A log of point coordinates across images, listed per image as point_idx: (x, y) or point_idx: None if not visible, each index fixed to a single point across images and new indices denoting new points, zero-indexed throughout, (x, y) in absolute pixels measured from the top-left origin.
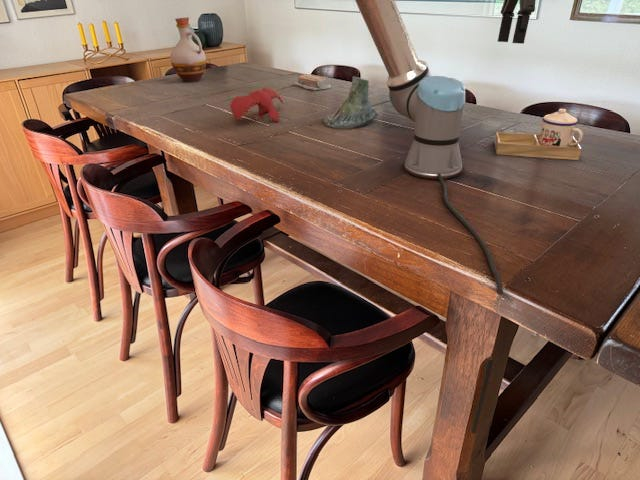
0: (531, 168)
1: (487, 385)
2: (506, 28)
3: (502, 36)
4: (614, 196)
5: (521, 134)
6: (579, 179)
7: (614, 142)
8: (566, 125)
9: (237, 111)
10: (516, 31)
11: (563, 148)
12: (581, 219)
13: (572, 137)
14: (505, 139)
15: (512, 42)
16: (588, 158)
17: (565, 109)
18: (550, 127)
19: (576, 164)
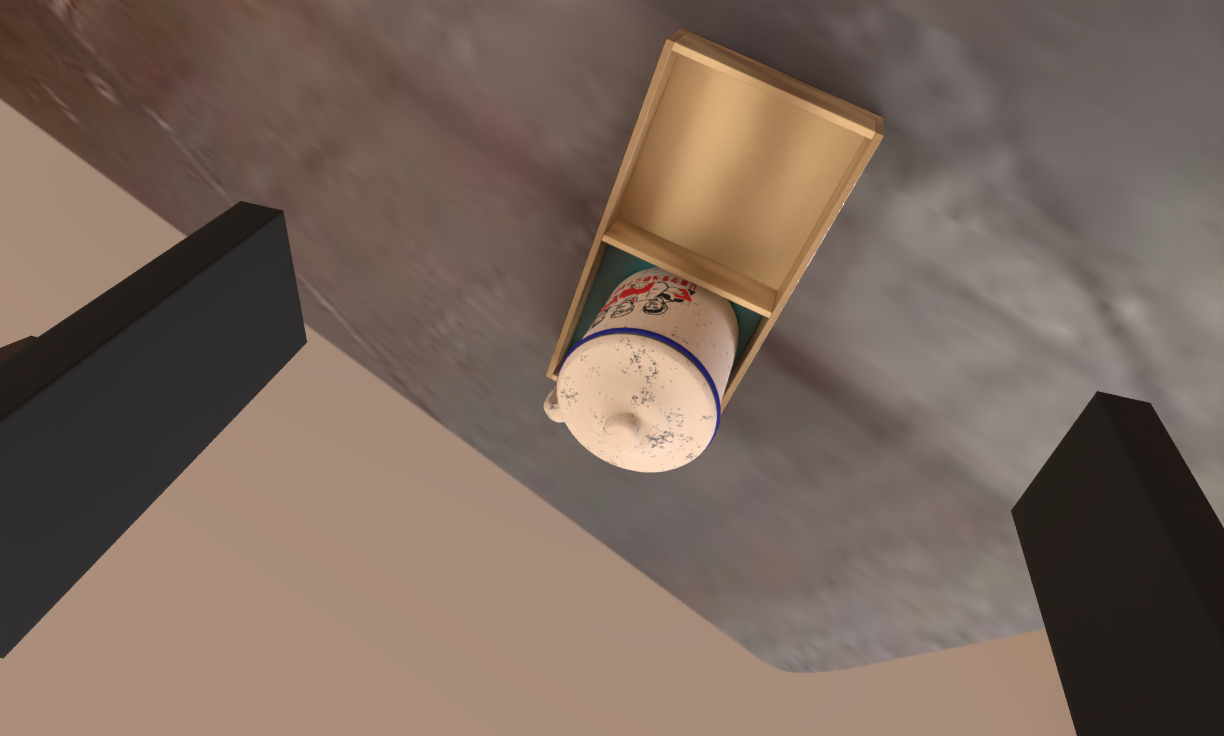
0: (480, 109)
1: None
2: (1119, 665)
3: (1093, 501)
4: None
5: (801, 260)
6: (377, 227)
7: (731, 582)
8: (557, 379)
9: None
10: (121, 300)
11: (566, 319)
12: (68, 25)
13: None
14: (845, 176)
15: (273, 212)
16: None
17: (613, 447)
18: (603, 326)
19: (520, 314)
